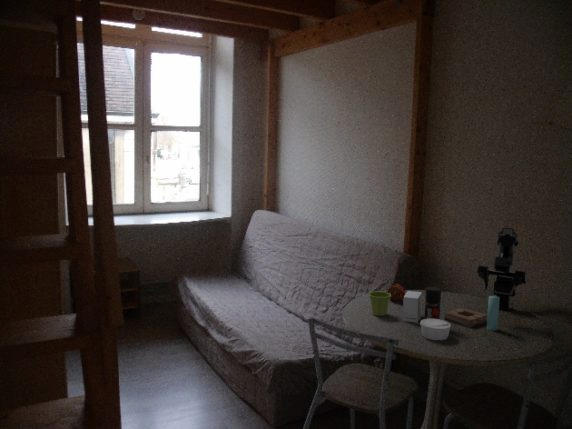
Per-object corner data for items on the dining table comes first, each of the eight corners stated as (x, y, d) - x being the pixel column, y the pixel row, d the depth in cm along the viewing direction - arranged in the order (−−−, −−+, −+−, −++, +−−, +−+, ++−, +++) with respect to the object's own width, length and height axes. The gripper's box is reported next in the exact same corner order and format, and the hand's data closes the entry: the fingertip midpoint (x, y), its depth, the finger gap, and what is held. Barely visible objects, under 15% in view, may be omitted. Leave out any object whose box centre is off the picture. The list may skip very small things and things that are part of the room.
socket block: (461, 314, 226) (461, 307, 226) (486, 322, 217) (487, 315, 216) (444, 319, 219) (444, 312, 218) (469, 327, 209) (470, 320, 209)
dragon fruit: (397, 307, 240) (390, 303, 251) (412, 296, 240) (404, 293, 252) (387, 292, 239) (380, 289, 251) (401, 281, 240) (394, 279, 252)
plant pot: (365, 315, 222) (366, 295, 221) (370, 309, 231) (371, 290, 230) (387, 318, 219) (388, 298, 218) (392, 312, 228) (393, 292, 227)
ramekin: (445, 344, 191) (446, 330, 190) (415, 337, 197) (416, 324, 196) (453, 335, 201) (454, 321, 200) (424, 329, 206) (425, 316, 206)
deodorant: (439, 323, 214) (441, 287, 212) (438, 328, 208) (440, 291, 206) (424, 321, 216) (426, 286, 214) (423, 326, 210) (425, 289, 208)
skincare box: (406, 313, 226) (407, 290, 225) (421, 315, 223) (422, 292, 222) (401, 321, 216) (403, 296, 215) (417, 323, 214) (419, 298, 212)
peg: (490, 326, 211) (492, 295, 209) (499, 329, 208) (501, 297, 206) (484, 328, 209) (486, 296, 207) (493, 331, 205) (496, 299, 204)
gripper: (479, 246, 221) (471, 277, 213) (527, 251, 211) (520, 284, 203) (482, 261, 228) (475, 291, 220) (529, 267, 218) (522, 299, 210)
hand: (497, 291), depth 213 cm, fingers open, 9 cm apart
